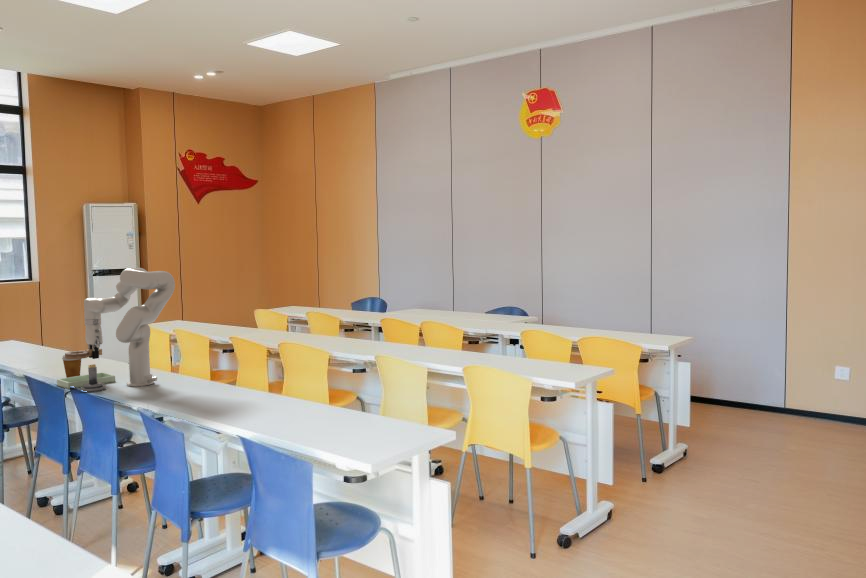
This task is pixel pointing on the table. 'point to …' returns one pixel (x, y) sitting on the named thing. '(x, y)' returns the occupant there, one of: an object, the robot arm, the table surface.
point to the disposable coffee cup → (72, 367)
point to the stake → (93, 381)
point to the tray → (84, 380)
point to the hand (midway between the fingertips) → (93, 357)
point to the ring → (80, 354)
